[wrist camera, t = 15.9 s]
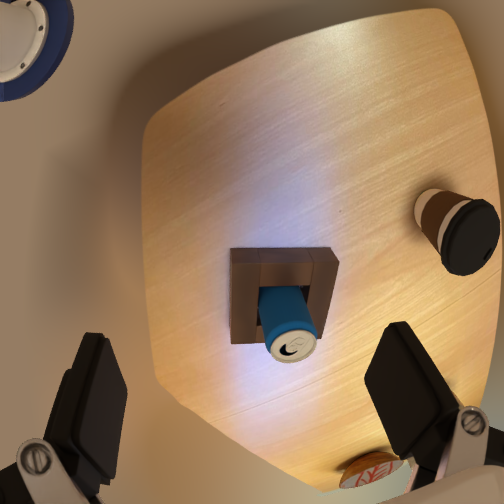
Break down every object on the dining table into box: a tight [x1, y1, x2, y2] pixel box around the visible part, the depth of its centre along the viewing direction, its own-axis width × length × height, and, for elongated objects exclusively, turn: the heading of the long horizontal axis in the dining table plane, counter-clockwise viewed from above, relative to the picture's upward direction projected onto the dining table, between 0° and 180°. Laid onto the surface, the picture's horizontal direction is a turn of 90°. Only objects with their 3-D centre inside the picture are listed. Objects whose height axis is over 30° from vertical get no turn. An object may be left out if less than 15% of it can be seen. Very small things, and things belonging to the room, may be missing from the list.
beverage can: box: [258, 286, 317, 363], centre depth 41 cm, size 6×6×12 cm
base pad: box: [230, 248, 339, 344], centre depth 44 cm, size 14×14×4 cm
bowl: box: [339, 452, 404, 488], centre depth 87 cm, size 25×25×8 cm
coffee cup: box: [414, 189, 500, 276], centre depth 37 cm, size 11×11×12 cm
